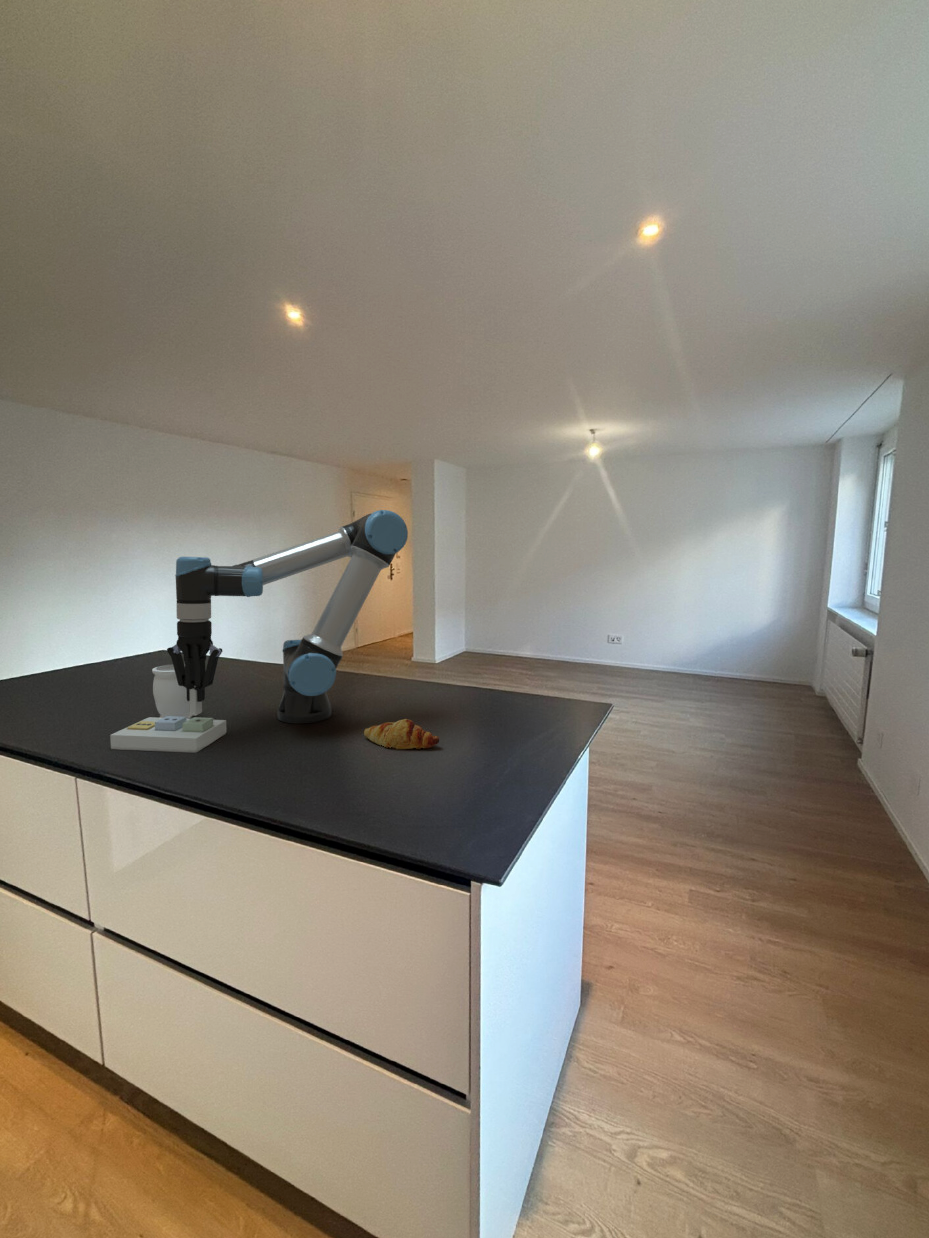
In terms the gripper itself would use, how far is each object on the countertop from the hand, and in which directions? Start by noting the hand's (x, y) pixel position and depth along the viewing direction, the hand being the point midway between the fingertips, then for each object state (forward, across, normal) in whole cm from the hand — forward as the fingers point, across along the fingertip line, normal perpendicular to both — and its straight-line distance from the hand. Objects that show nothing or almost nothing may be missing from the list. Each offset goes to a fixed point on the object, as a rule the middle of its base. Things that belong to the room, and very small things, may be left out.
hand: (196, 713), depth 128 cm
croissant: (+7, -51, -5) cm, 52 cm away
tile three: (+7, +14, 0) cm, 15 cm away
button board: (+7, +7, 0) cm, 10 cm away
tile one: (+5, 0, 0) cm, 5 cm away
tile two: (+5, +7, 0) cm, 8 cm away
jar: (+8, +16, -17) cm, 25 cm away
